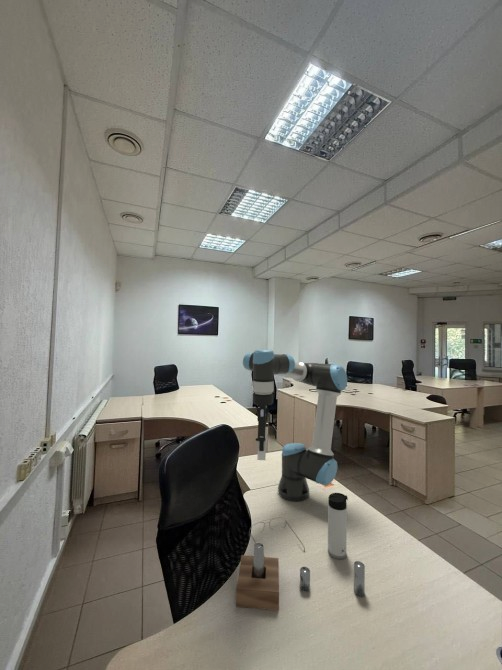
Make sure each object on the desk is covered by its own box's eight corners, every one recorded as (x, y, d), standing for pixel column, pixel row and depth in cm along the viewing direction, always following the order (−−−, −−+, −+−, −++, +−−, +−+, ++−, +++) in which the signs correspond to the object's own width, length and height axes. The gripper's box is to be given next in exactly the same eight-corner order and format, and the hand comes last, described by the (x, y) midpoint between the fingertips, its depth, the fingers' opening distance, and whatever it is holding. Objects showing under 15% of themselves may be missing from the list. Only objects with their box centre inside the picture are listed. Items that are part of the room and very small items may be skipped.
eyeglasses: (284, 526, 111) (284, 514, 111) (305, 553, 97) (305, 539, 98) (247, 537, 105) (247, 524, 105) (264, 567, 91) (264, 552, 91)
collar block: (241, 570, 89) (241, 555, 89) (278, 573, 88) (278, 558, 88) (236, 606, 77) (236, 588, 77) (278, 610, 76) (279, 592, 76)
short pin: (299, 582, 85) (299, 566, 85) (309, 583, 85) (309, 567, 85) (300, 591, 82) (300, 574, 82) (310, 592, 82) (310, 575, 82)
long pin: (253, 585, 84) (254, 542, 84) (263, 586, 84) (263, 543, 84) (253, 594, 81) (253, 549, 81) (263, 595, 81) (263, 550, 81)
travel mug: (348, 561, 94) (349, 502, 94) (328, 557, 95) (329, 499, 95) (346, 547, 100) (346, 492, 100) (327, 544, 101) (327, 489, 101)
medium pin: (352, 587, 84) (352, 560, 84) (362, 588, 84) (362, 561, 84) (355, 596, 81) (355, 568, 81) (366, 597, 81) (366, 569, 81)
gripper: (255, 386, 112) (254, 438, 112) (249, 399, 88) (248, 466, 87) (273, 386, 112) (273, 439, 111) (273, 400, 87) (272, 468, 87)
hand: (262, 451), depth 99 cm, fingers open, 13 cm apart
